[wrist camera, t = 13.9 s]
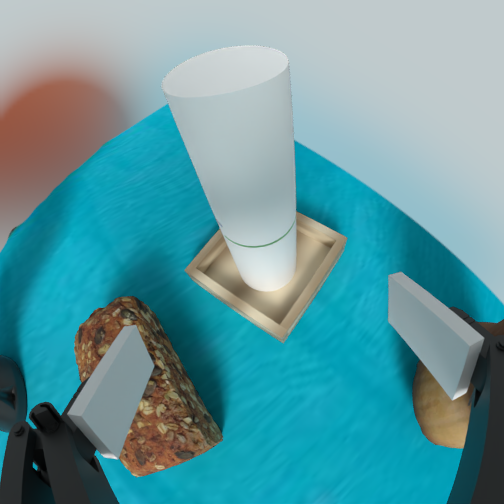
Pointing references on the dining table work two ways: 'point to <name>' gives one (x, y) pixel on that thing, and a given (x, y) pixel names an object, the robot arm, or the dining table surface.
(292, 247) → the cylindrical container
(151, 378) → the bread
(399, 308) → the robot arm
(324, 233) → the holder tray
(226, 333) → the dining table surface
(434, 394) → the butternut squash
